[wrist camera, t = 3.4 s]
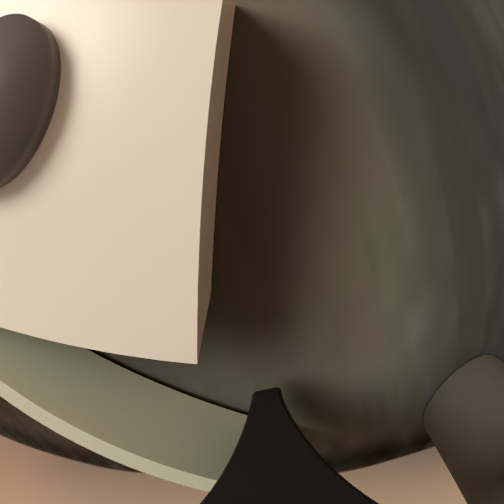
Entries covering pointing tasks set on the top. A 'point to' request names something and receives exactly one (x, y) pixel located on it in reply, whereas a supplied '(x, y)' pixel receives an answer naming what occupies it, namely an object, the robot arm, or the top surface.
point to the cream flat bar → (118, 411)
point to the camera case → (111, 170)
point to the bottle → (471, 428)
